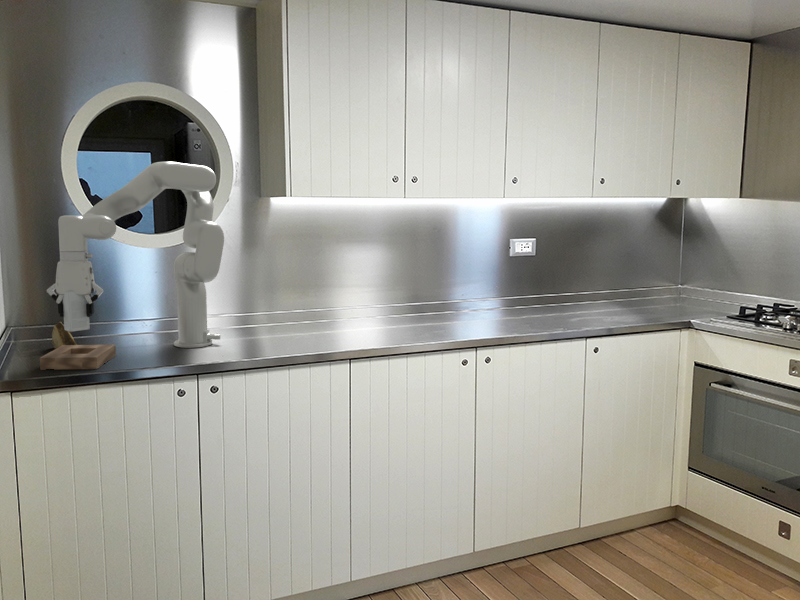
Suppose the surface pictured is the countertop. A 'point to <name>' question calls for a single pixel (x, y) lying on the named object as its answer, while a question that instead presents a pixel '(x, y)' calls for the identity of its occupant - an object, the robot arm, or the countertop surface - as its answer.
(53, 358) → the walnut holder
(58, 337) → the rock
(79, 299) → the skincare box
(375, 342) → the countertop surface
